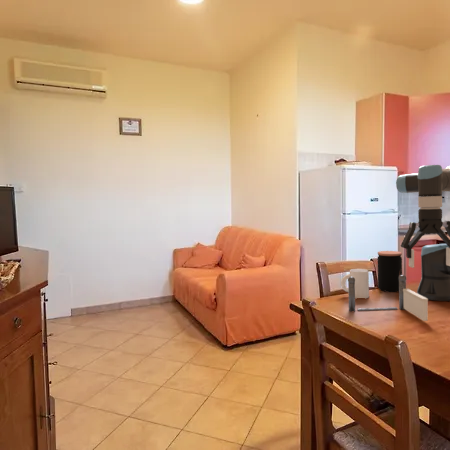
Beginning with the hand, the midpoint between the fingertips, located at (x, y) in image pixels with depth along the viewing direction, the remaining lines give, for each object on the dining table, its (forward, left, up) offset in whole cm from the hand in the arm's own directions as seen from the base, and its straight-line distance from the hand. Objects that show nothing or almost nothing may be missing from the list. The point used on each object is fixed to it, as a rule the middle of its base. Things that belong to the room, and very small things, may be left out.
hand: (430, 266), depth 136 cm
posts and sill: (+15, -10, -19) cm, 26 cm away
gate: (+5, 0, -18) cm, 19 cm away
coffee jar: (-3, -41, -19) cm, 46 cm away
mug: (+17, -31, -19) cm, 41 cm away
